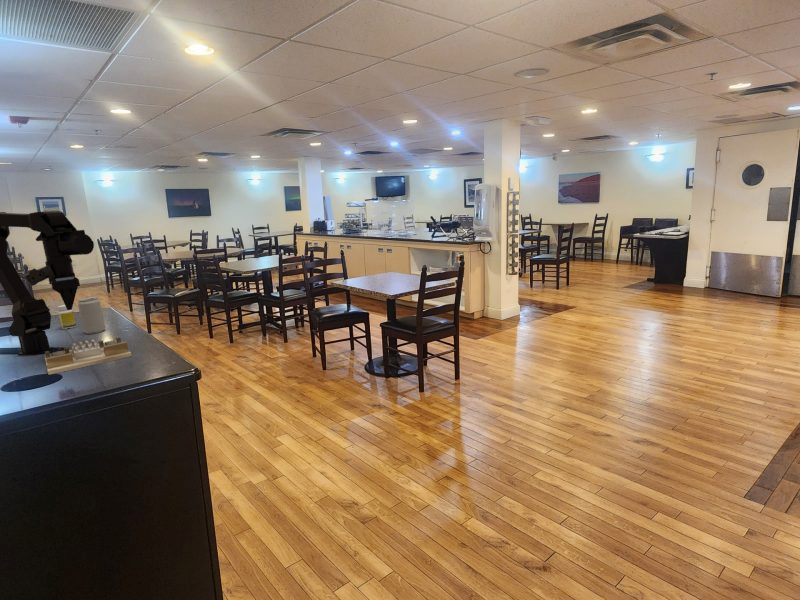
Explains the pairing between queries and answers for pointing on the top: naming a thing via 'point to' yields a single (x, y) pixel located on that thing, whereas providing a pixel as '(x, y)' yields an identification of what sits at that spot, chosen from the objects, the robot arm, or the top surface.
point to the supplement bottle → (66, 317)
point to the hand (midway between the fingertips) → (69, 309)
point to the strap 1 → (57, 353)
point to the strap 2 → (110, 342)
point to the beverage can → (91, 315)
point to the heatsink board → (87, 361)
